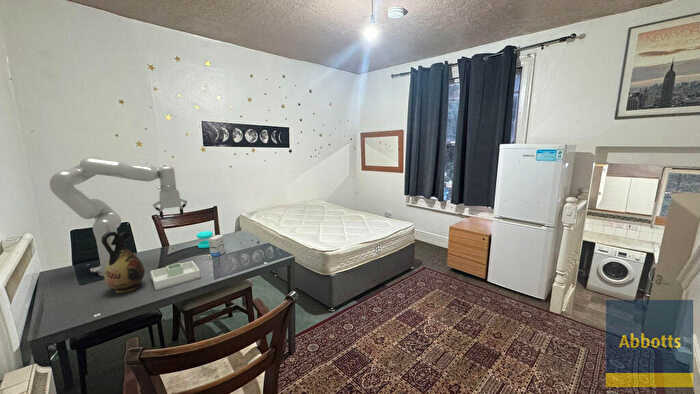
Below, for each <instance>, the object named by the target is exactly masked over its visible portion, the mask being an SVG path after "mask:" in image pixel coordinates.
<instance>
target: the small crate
mask: <svg viewBox="0 0 700 394" xmlns="http://www.w3.org/2000/svg"><path fill="white" fill-rule="evenodd" d="M165 267H166V269H167V276H168V278H170V277H173V276H177V275H181V274H184V273H183V266H182V265H181V262H177V263H172V264H169V265H165Z"/></svg>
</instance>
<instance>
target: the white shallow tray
mask: <svg viewBox="0 0 700 394" xmlns="http://www.w3.org/2000/svg"><path fill="white" fill-rule="evenodd" d="M180 263H181V262H180ZM181 265H182V266H183V273H184V274H181V275H177V276H173V277H170V278H168V276H167V269H166V266H165V267H162V268H158V269H154V270H153V269H152V270H150V272H149V273H150V279H151V281H152V282H151V283H152V285H153V287H154V291H159V290H163V289H166V288H169V287H173V286H177V285H182V284H185V283H188V282H192V281H195V280H199V279H201V270H200V269H199V267H198V266H197V265H196V263H195V262H194V261H193V260H190V261H185V262H182V263H181Z"/></svg>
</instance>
